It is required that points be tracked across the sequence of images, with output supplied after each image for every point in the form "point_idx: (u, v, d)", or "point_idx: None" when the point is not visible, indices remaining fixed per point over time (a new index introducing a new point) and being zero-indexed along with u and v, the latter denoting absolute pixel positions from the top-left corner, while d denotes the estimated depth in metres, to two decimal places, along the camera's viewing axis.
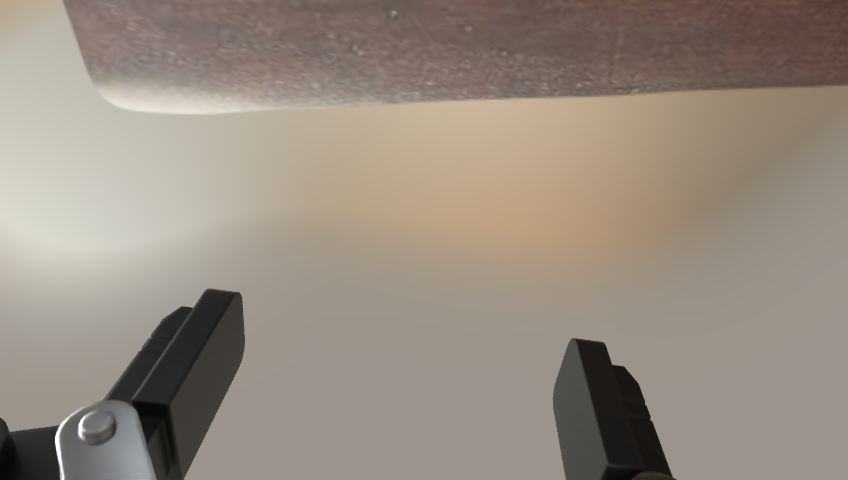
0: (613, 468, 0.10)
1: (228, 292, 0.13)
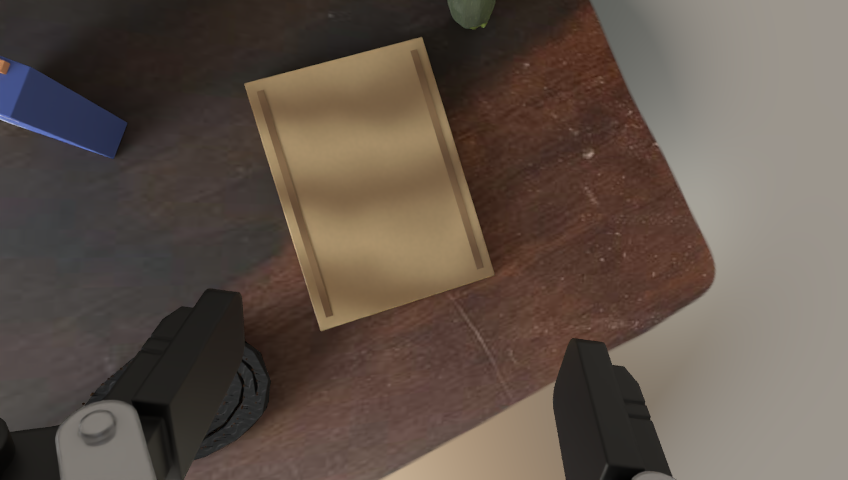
0: (613, 468, 0.10)
1: (228, 292, 0.13)
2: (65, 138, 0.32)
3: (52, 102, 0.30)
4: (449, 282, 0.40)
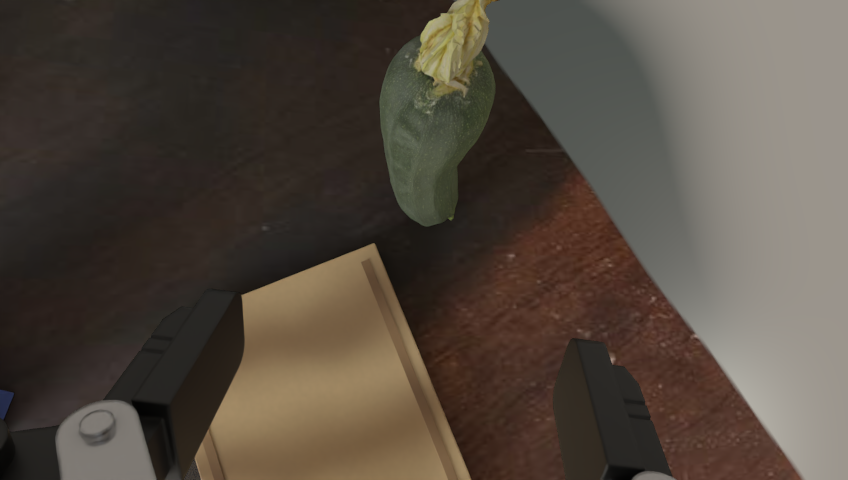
0: (613, 468, 0.10)
1: (228, 292, 0.13)
2: None
3: None
4: None
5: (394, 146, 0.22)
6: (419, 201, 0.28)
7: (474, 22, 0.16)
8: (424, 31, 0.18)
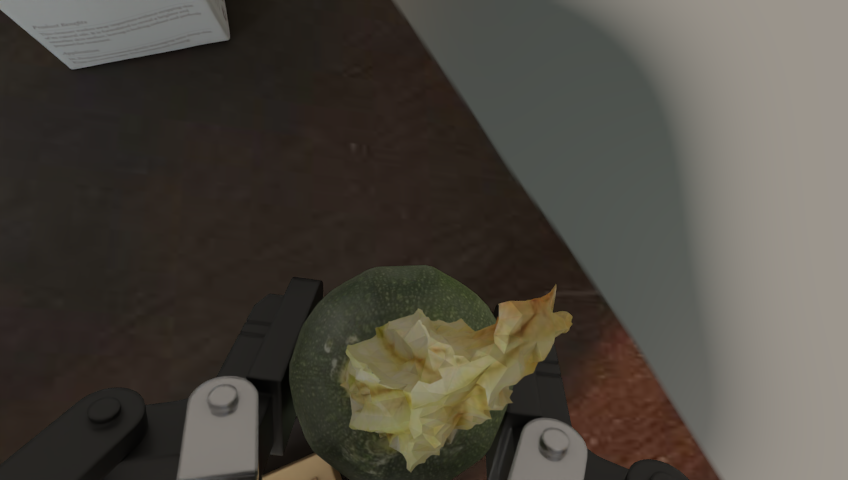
0: (512, 415, 0.11)
1: (313, 280, 0.14)
2: None
3: None
4: None
5: None
6: None
7: (472, 411, 0.06)
8: (352, 351, 0.07)
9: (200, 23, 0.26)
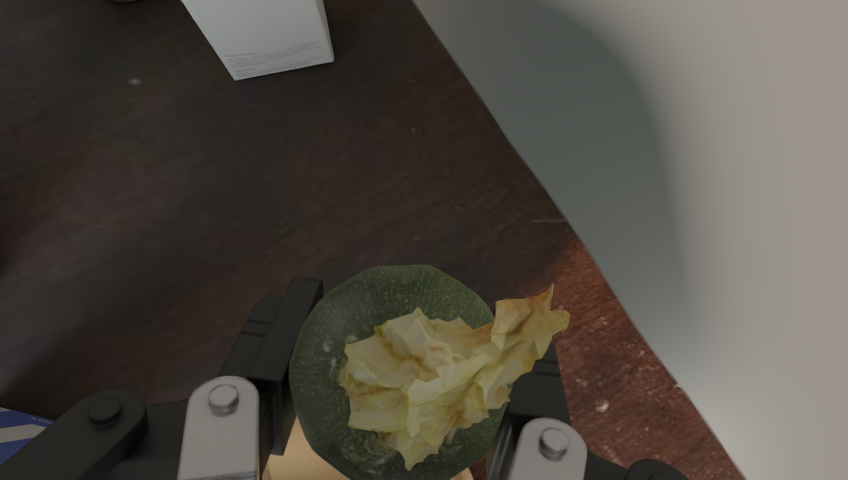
0: (512, 415, 0.11)
1: (313, 280, 0.14)
2: None
3: None
4: None
5: None
6: None
7: (469, 409, 0.06)
8: (350, 350, 0.07)
9: (319, 52, 0.42)
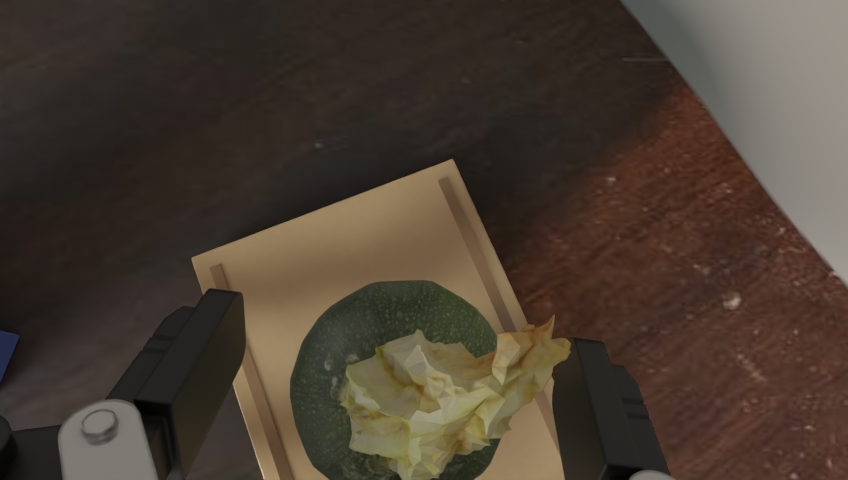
0: (611, 467, 0.10)
1: (230, 292, 0.13)
2: None
3: None
4: None
5: None
6: None
7: (470, 438, 0.06)
8: (351, 374, 0.07)
9: None
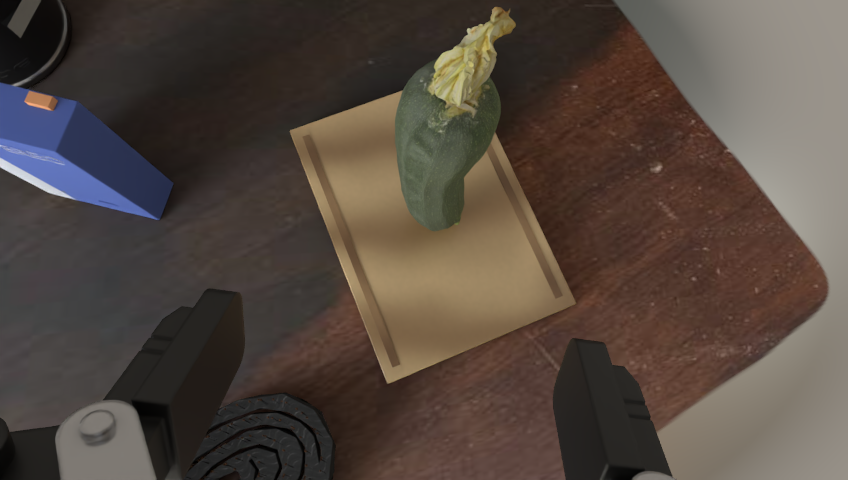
0: (613, 468, 0.10)
1: (228, 292, 0.13)
2: (111, 187, 0.31)
3: (99, 144, 0.29)
4: (526, 316, 0.35)
5: (408, 160, 0.24)
6: (429, 209, 0.30)
7: (483, 55, 0.18)
8: (438, 60, 0.20)
9: None
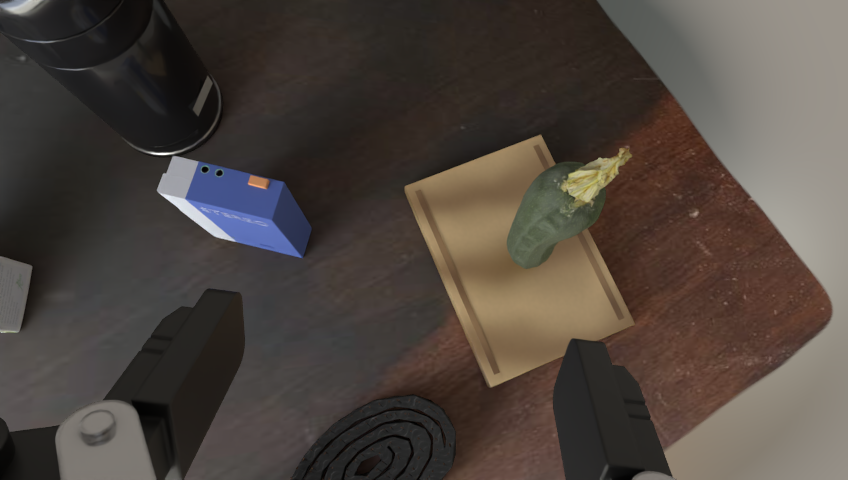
0: (613, 468, 0.10)
1: (228, 292, 0.13)
2: (287, 238, 0.41)
3: (287, 209, 0.39)
4: (596, 334, 0.45)
5: (534, 228, 0.34)
6: (532, 256, 0.40)
7: (610, 175, 0.28)
8: (573, 172, 0.30)
9: None
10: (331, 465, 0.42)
